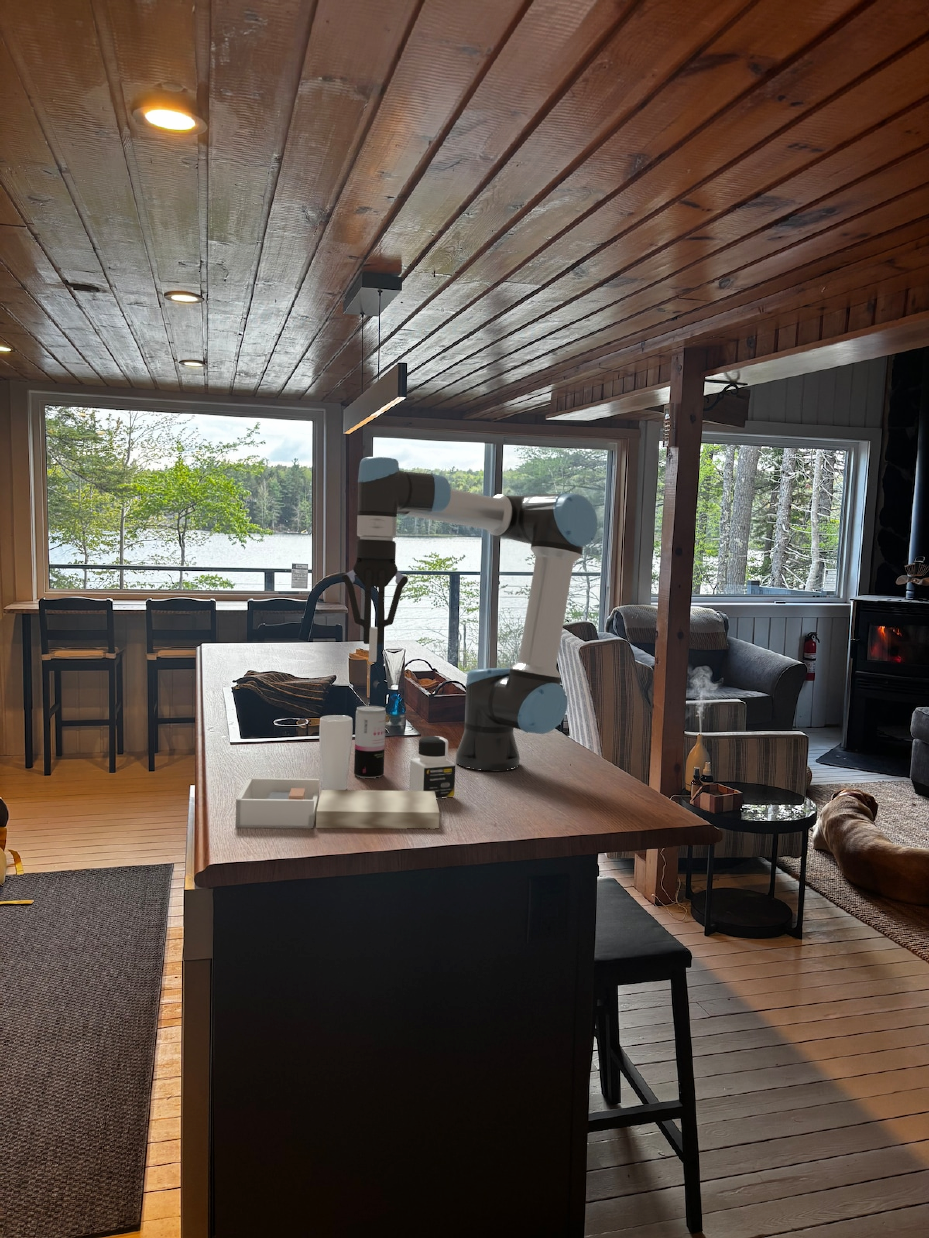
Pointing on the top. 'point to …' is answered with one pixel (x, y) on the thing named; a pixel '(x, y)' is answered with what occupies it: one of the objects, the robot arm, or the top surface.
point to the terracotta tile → (297, 793)
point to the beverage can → (369, 741)
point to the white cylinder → (335, 751)
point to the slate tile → (279, 795)
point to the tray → (276, 804)
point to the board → (377, 809)
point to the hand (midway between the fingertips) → (372, 660)
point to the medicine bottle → (433, 768)
